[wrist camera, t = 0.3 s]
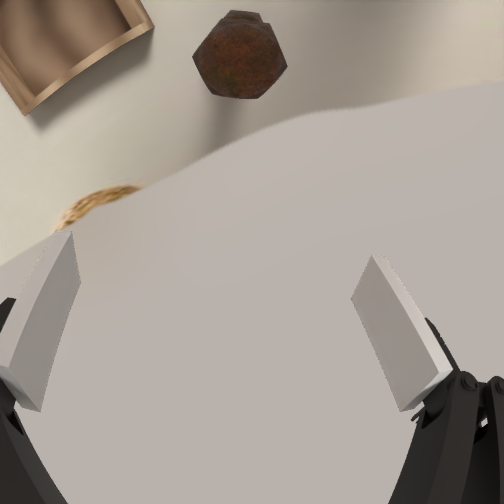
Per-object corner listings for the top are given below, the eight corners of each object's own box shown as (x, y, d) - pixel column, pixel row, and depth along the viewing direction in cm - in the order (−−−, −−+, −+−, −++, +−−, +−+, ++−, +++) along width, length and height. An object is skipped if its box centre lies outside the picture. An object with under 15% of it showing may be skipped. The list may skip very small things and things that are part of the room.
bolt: (244, 59, 29) (244, 116, 19) (204, 34, 27) (177, 76, 17) (279, 20, 26) (304, 52, 16) (239, -7, 23) (235, 3, 13)
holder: (87, -89, 12) (72, -93, 10) (154, 26, 25) (145, 32, 23) (-22, 9, 17) (-40, 16, 15) (38, 103, 30) (24, 116, 28)
